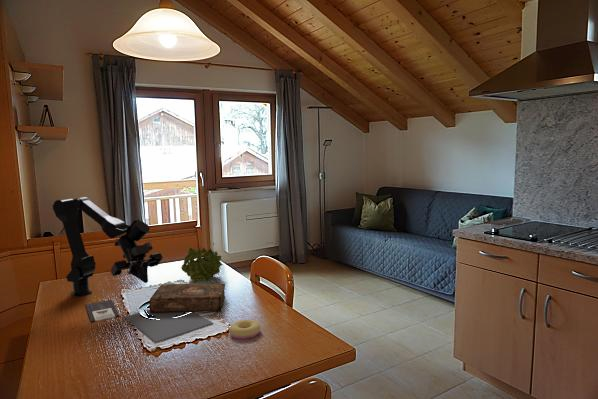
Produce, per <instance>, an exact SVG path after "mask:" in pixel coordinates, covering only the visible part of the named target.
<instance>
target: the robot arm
mask: <svg viewBox="0 0 598 399" xmlns="http://www.w3.org/2000/svg"><path fill="white" fill-rule="evenodd" d="M52 210H53V212H54V214H55V217H56V218H57V219H58V220H59V221H60V222H62V226H63V229H64V232H65V234H66V238H67V242H68V246H69V249H70V251H71V255H72V258H71V261H70V262H71V263H70V269H71V270H70V272H69V273H67V275H66V276H65V277H66V280H67V282H69V283H70V282H71V283H72V290H73V291H72V290H71V292H70V294H71V295H72V296H73V297H75V298H76V297H80V296H81V297H82V296H85V295H91V294H93V291H91V289H90V285H89V283H90V282H89V278H91V277H93V276H94V273H95V270H96V265H97V263H96V261H95V257H94V255H92V254H91V255H90V254H88V253H87V252H86V248H85V244H84V241H83V238H82V234H81V232H80V227H79V224H78V221H77V217H78V214H79V210H80V211H81V212H82V213H84V214H85V215H87V216H88V217H89V218H91V220H93V221H95V222H96V223H97V224H98V225H100V227H101V231H102V232H103V233H105V235H106V236H107V237H108V238H110V239H114V238H116V240H115V242H114V247H120V249H121V252H122V253H123V255H122V258H123V260H118V261H115V262H114V263H113V265H112V267H111V269H110V273H111V275H112V277H116V276H120V275H121V274H122V273H123V271H122V270H128V272H127V274H128V275H131V276H133V277H135V278H137V279H138V280H140V281H142V283H144V284H147V283H148V282H149V275H148V267H150V268H152V267H157V266H158V265H159V264H160V263H161V262H162V259H164V256H163V254H162V253H161V252H155V253H150V251H152V250H153V248H154V247H153V244H152V243H151V242H150V241H147V242H145V243H143V244H141V245H138V243H137V242H140V241H141V240H142V239H143V238H144V237H145V236H146V235H147V234H148V233H149V232H150V230H151V229H150V226H149V225H148V224H147V223H145V222H144V221H142V220H140V219H139V218H137V219H134V220H133V221H132V223H131V224H127V223H126V222H125V221H123V220H121V219H120V218H117V217H114V216H111V215H109V214H108V213H106V212H105V211H104V210H103V209H101V208H100V207H98V205H96V204H95V203H93V202H92V201H91V200H90V198H88V197H87V196H81V197H77V198H75V199H73V198H72V197H70V198H64V199H57V200H55V201H54V202H53V204H52ZM117 237H119V238H117ZM149 253H150V255H149V257H148V258H147V254H149ZM125 259H126V260H125Z"/></svg>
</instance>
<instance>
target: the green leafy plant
mask: <svg viewBox="0 0 598 399" xmlns="http://www.w3.org/2000/svg"><path fill="white" fill-rule="evenodd" d="M221 260H222V256H221V255H219V254H218V251H216V250H215V252H214V251H213V250H212V248H208V249H206V248H205V247H203V248H201V247H198V248H197V249H196V250H195V248H194V249H193V248H192V247H189V249H188V251H187V255H185V256H184V258H183V264H182V265H181V267H180V269H181V270H182V271H183V272H184V274H186V276H188V277H189V279H190V280H191V282H192V283H197V282H198V281H199V282H200V281H202V282H204V281H206V280H212V279H214V276H215V275H218V274H219V273H220V272H221V270H220V268H221V266H223V264H222V262H221Z"/></svg>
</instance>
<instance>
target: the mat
mask: <svg viewBox="0 0 598 399" xmlns="http://www.w3.org/2000/svg"><path fill="white" fill-rule="evenodd" d="M146 311H147V313H148V314H149V315H153V316H156V318H157V319H160V320H156V319H154V320H153V319H152V320H150V319H146V318H143V317H141V316H140V315H139V312H135V313H132V314H129V315H125V316H124V319H125V320H127V321H128V322H129V323H130V324H132V325H133V326H134V327H135V326H136V327H135V328H137V329H138V330H139V331H140V330H141V331H142V332H141V331H140V332H141V333H143V334H144V335H147V336H146V337H148V339H150V340H151V339H152V340H151V341H152V342H154V343H155V344H157V342H158V343H160V341H161V342H163V340H164V341H166V339H167V340H169V338H170V339H172V337H173V338H176V337H178V336H181V335H184V333H185V334H188V333H190V331H191V332H193V330H194V331H196V330H199V328H200V329H202V327H203V328H205V326H206V327H208V325H209V326H211V324H212V325H214V322H212V321H211V320H209V319H208V318H206V317H204V316H202V315H201V314H199V313H198V312H192V313H190V314H187V315H186V316H183V317H179V318H172V317H175V316H176V315H181V314H183V313H184V312H166V313H150V309H146ZM187 332H188V333H187Z"/></svg>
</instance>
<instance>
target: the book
mask: <svg viewBox="0 0 598 399" xmlns="http://www.w3.org/2000/svg"><path fill="white" fill-rule="evenodd" d="M225 286H226V284H225V283H170V284H169V283H167V284H160V285H159V286H158V288H157V289H156V290H155V291H154V293H153V294H152V296H151V297H150V298H149V309H148V310H150V313H166V312H195V313H215V312H216V313H217V312H221V313H222V311H223V307H224V303H225V300H226V296H225V294H226V293H225Z"/></svg>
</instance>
